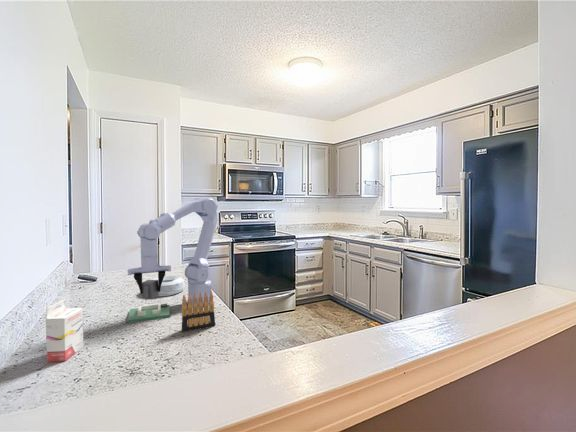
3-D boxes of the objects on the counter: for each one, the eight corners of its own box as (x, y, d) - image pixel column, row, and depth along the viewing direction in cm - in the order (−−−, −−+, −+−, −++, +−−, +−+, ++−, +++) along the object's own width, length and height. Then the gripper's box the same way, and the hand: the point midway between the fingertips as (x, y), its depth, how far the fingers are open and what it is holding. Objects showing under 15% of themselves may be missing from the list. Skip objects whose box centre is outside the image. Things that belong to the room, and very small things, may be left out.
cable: (173, 284, 157) (173, 273, 156) (192, 291, 145) (192, 278, 145) (139, 292, 143) (138, 280, 143) (156, 300, 132) (156, 286, 132)
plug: (158, 295, 115) (158, 279, 115) (151, 299, 110) (151, 283, 110) (148, 295, 115) (147, 279, 115) (141, 299, 110) (140, 283, 110)
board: (169, 306, 123) (169, 300, 123) (169, 317, 112) (169, 310, 112) (130, 311, 118) (130, 305, 118) (126, 323, 107) (126, 316, 106)
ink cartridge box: (66, 361, 81) (63, 307, 80) (46, 362, 81) (43, 308, 80) (84, 346, 90) (82, 297, 89) (67, 347, 89) (64, 297, 88)
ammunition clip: (182, 332, 99) (181, 295, 98) (181, 329, 101) (180, 294, 100) (215, 326, 103) (214, 291, 103) (214, 324, 105) (213, 290, 105)
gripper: (170, 252, 119) (171, 287, 120) (128, 255, 114) (130, 291, 114) (170, 255, 112) (171, 291, 113) (126, 258, 107) (127, 296, 108)
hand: (150, 292), depth 113 cm, fingers closed on plug, 5 cm apart
